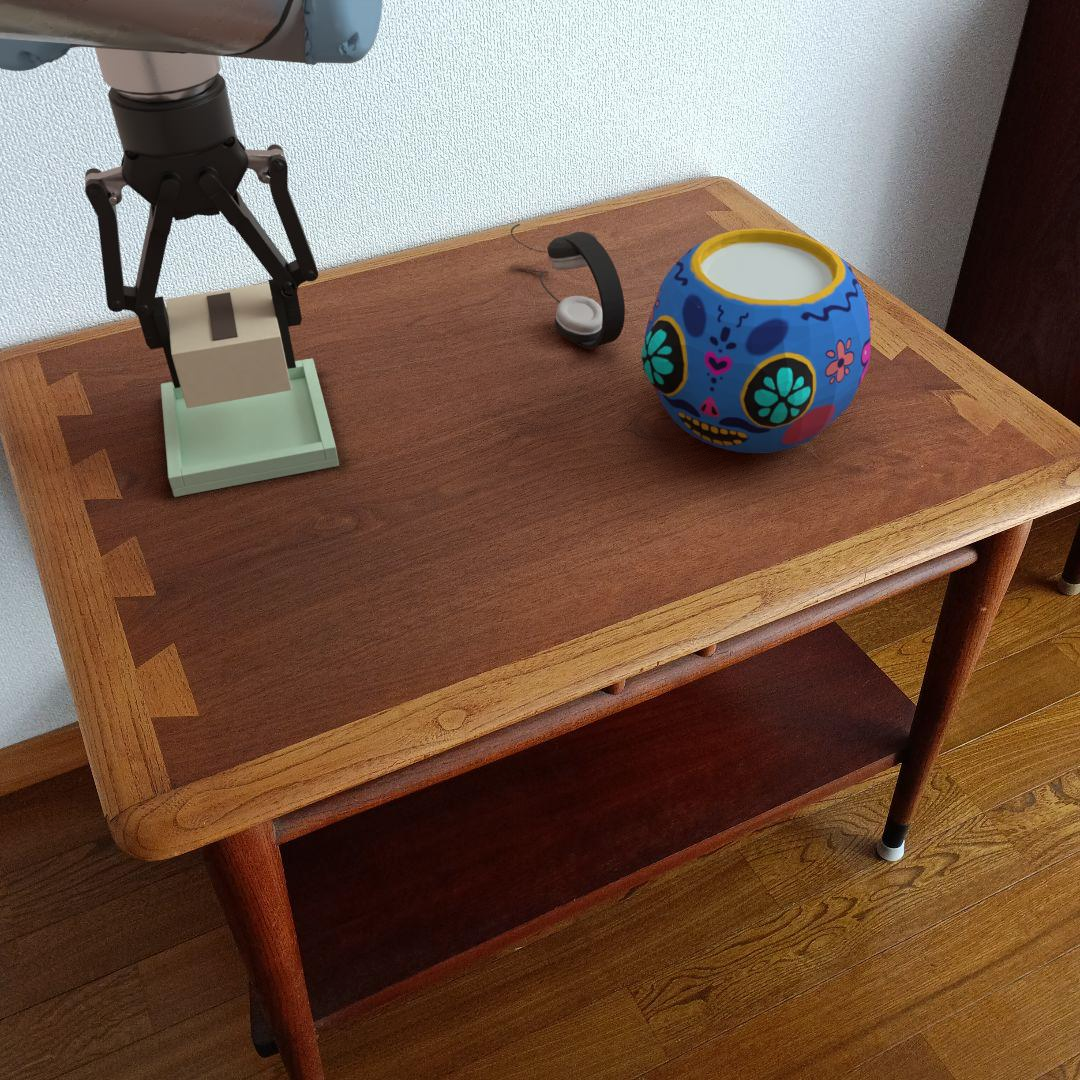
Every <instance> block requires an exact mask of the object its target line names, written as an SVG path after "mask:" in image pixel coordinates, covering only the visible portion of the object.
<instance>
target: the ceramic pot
mask: <svg viewBox="0 0 1080 1080" xmlns="http://www.w3.org/2000/svg"><path fill="white" fill-rule="evenodd" d="M868 303H869V302H868V300H867V298H866V295H865V293H864V291H863V289H862V287H861V284H860V283H859V280H858V279H857V277H856V275H855V273H854V271H853V270H852V267H851V266H850V265H849V263H847V262H846V261H845V260H844V259H843V258H842V257H841V256H839V255H838V254H837V253H836V252H835V251H833V249H831V248H830V247H829V246H828V245H826V244H824V243H822V242H820V241H817V240H815V239H813V238H812V237H809V236H807V235H803V234H799V233H797V232H793V231H788V230H782V229H773V228H761V227H759V228H745V229H743V228H742V229H735V230H730V231H728V232H722V233H720V234H715V235H713V236H711V237H709V238H708V239H705V240H704V241H702V242H700V243H698V244H696V245H694V246H693V247H691V248H690V249H689V250H688V251H686V253H685V254H684V255H683V256H682V257H680V259H678V261H676V263H675V264H674V265H673V266H672V267H671V268H670V270H669V271H668V272H667V274H666V275H665V277H664V278H663V280H662V282H661V285H660V286H659V288H658V292H657V295H656V297H655V301H654V303H653V306H652V309H651V311H650V315H649V319H648V321H647V324H646V329H645V334H644V342H643V345H642V349H641V363H642V364H641V365H642V368H643V371H644V373H645V375H646V377H647V379H648V380H649V382H650V384H651V385H652V387H653V390H654V391H655V394H656V395H657V396H658V399H659V401H660V403H661V404H662V406H663V408H664V409H665V410H666V412H667V414H668V415H669V416H670V417H671V419H672V420H673V421H674V422H675V424H677V426H679V427H680V428H681V429H682V430H683V431H685V432H686V433H688V434H689V435H691V436H692V437H694V438H696V439H697V440H699V441H701V442H703V443H706V444H708V445H712V446H714V447H716V448H719V449H723V450H727V451H731V452H737V453H744V454H769V453H770V454H771V453H776V452H777V453H778V452H782V451H783V452H784V451H786V450H791V449H793V448H795V447H797V446H800V445H803V444H805V443H807V442H810V441H811V440H813V439H814V438H815V437H816V436H817V435H818V434H820V433H821V432H822V431H824V430H825V429H826V428H827V427H828V426H830V425H831V424H832V423H833V422H834V421H836V419H838V418H839V417H840V416H842V414H843V413H844V412H845V411H846V410H847V408H849V407H850V405H851V403H852V401H853V399H854V398H855V396H856V393H857V392H858V389H859V387H860V386H861V383H862V382H863V379H864V377H865V375H866V373H867V371H868V368H869V365H870V359H871V340H872V339H871V338H872V337H871V334H872V328H871V327H872V326H871V313H870V308H869V304H868Z"/></svg>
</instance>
